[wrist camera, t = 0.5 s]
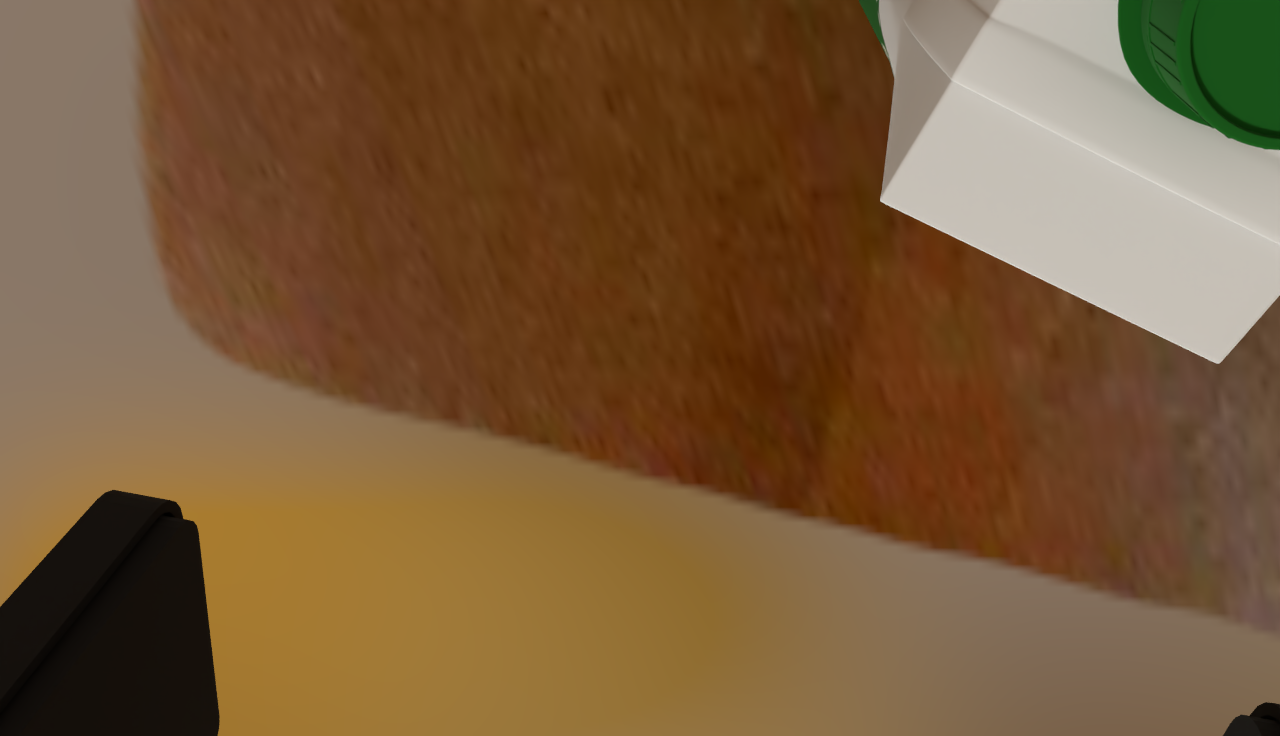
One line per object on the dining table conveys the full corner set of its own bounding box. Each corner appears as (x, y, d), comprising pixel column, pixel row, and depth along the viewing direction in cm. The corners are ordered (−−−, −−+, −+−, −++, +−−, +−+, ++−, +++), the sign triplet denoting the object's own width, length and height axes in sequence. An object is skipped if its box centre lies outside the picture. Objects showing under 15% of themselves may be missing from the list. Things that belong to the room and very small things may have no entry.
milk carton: (1225, -140, 32) (1711, 3, 15) (1044, 127, 37) (1261, 470, 20) (966, -280, 31) (1172, -296, 14) (814, 12, 36) (830, 266, 19)
